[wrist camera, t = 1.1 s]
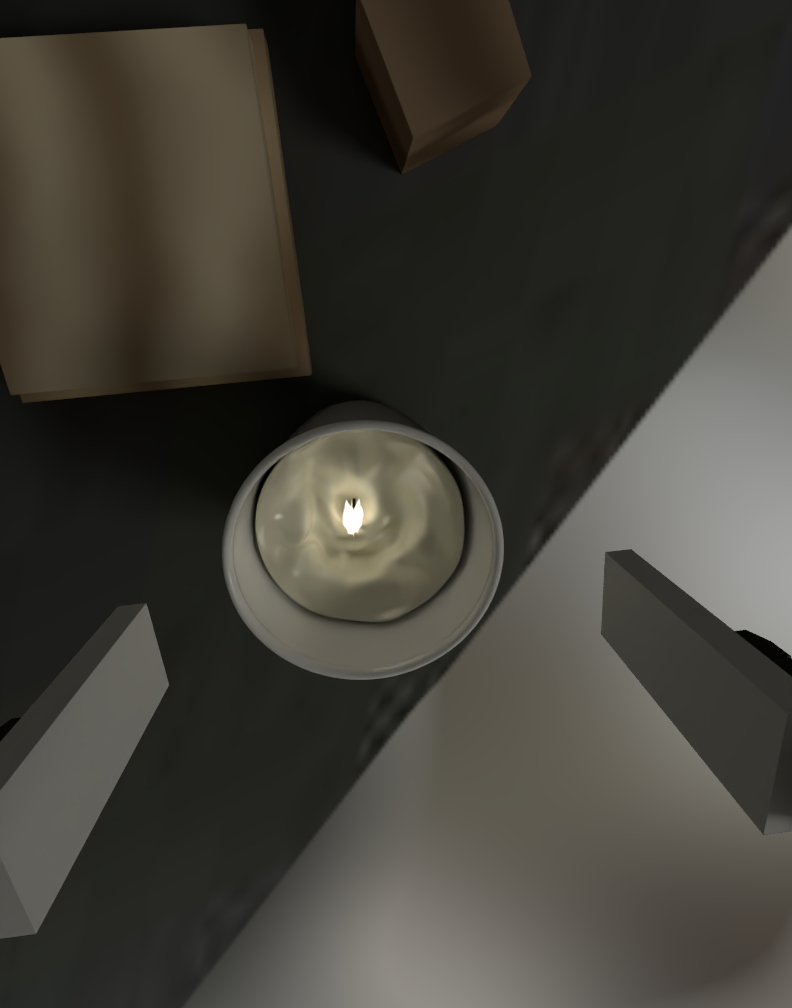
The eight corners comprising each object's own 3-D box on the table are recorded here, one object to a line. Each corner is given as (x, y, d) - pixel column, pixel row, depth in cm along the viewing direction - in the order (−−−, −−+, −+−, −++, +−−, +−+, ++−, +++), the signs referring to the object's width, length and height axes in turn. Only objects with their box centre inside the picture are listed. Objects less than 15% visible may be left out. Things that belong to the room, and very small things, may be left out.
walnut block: (401, 174, 25) (413, 137, 20) (355, 58, 23) (356, -13, 18) (496, 125, 24) (531, 76, 20) (456, 4, 23) (483, -83, 18)
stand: (40, 399, 26) (2, 407, 24) (-62, 68, 22) (-124, 28, 19) (312, 373, 27) (307, 377, 24) (268, 47, 23) (256, 6, 20)
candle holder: (257, 394, 27) (191, 438, 16) (439, 375, 28) (501, 405, 16) (287, 561, 30) (249, 697, 19) (450, 542, 31) (508, 663, 20)
